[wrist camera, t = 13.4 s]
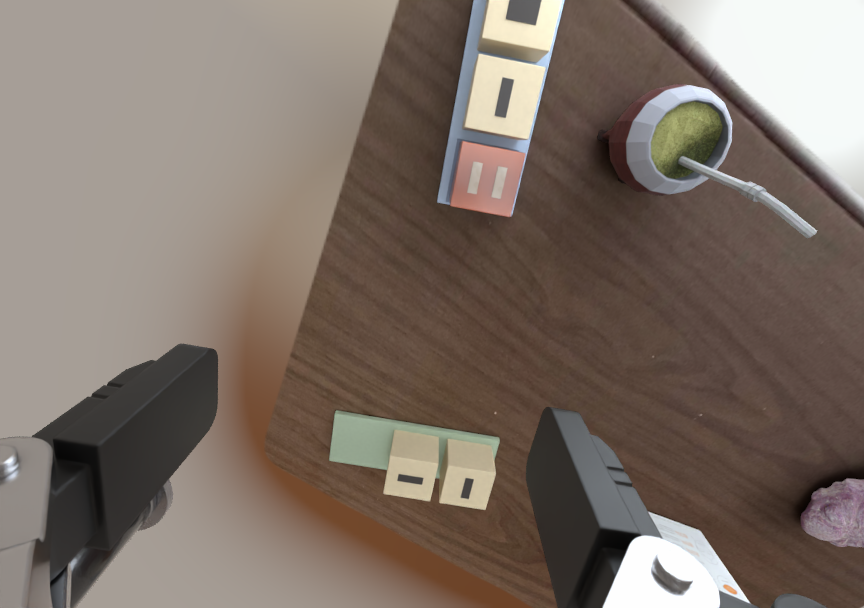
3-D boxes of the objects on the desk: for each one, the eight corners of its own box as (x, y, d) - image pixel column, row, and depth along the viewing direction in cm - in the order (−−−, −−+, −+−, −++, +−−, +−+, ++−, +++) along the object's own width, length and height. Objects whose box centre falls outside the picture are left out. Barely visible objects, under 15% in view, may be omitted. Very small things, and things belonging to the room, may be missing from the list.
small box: (612, 540, 49) (656, 640, 39) (640, 506, 47) (692, 602, 37) (672, 562, 50) (729, 665, 40) (701, 529, 48) (768, 628, 38)
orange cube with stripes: (460, 141, 34) (462, 140, 30) (516, 152, 34) (526, 153, 30) (449, 199, 36) (449, 206, 32) (503, 210, 36) (510, 217, 32)
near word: (510, 215, 37) (520, 225, 32) (436, 201, 36) (436, 209, 32) (565, -11, 31) (586, -37, 26) (478, -29, 31) (484, -59, 26)
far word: (330, 457, 46) (318, 490, 41) (336, 410, 44) (324, 439, 39) (486, 482, 46) (490, 517, 42) (499, 437, 44) (505, 469, 40)
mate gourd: (607, 85, 33) (730, 40, 19) (705, 106, 33) (897, 78, 19) (577, 184, 36) (666, 209, 21) (669, 202, 36) (815, 240, 22)
